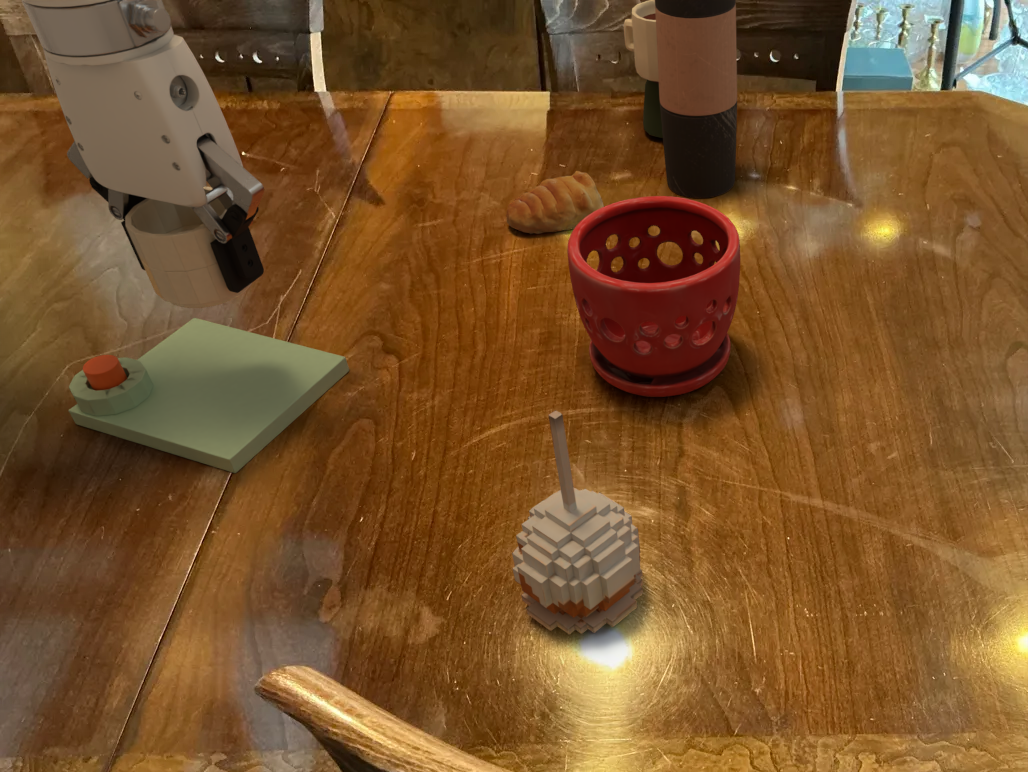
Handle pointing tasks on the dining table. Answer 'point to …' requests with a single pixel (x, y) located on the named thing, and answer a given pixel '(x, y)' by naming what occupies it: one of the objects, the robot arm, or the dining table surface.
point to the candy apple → (577, 554)
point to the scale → (209, 393)
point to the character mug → (646, 61)
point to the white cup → (179, 253)
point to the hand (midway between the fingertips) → (203, 270)
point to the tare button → (104, 372)
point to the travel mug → (698, 94)
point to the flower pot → (656, 294)
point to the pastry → (555, 204)
